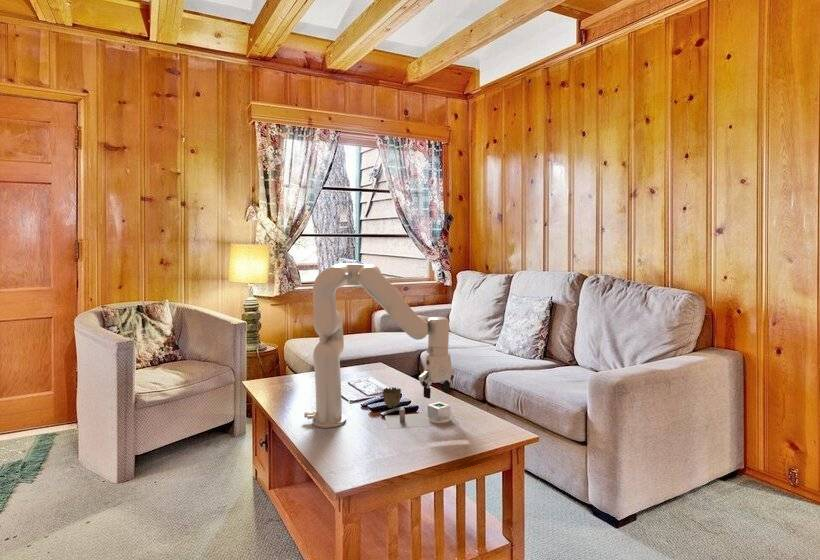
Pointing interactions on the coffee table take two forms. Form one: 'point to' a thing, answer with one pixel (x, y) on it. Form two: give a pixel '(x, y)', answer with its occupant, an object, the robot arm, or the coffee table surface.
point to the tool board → (415, 420)
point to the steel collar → (439, 411)
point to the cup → (391, 396)
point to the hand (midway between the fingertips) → (436, 395)
